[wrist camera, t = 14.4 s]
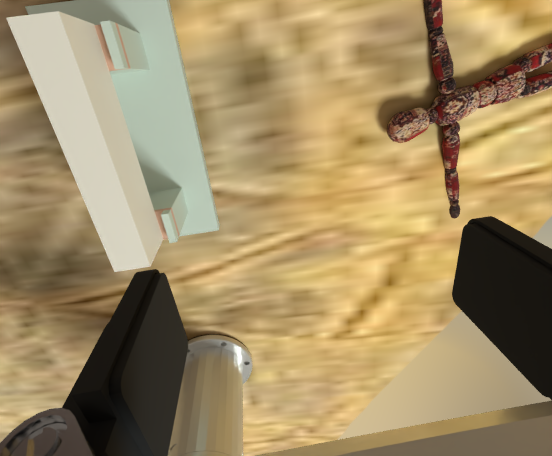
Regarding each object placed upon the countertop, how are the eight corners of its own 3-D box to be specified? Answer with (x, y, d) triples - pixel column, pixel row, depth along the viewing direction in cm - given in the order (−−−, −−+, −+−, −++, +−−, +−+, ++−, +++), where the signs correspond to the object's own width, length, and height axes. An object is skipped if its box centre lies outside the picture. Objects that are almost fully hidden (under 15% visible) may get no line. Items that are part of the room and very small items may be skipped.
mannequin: (530, 225, 46) (557, 239, 42) (347, 203, 41) (358, 216, 37) (649, 12, 35) (701, 4, 31) (418, -53, 30) (445, -73, 26)
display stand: (219, 224, 39) (214, 263, 31) (124, 239, 39) (94, 282, 31) (167, -7, 29) (139, -39, 21) (35, 9, 28) (-47, -17, 20)
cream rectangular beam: (163, 238, 31) (150, 266, 26) (127, 244, 31) (108, 273, 26) (94, 24, 23) (58, 11, 18) (45, 30, 23) (-3, 18, 18)
